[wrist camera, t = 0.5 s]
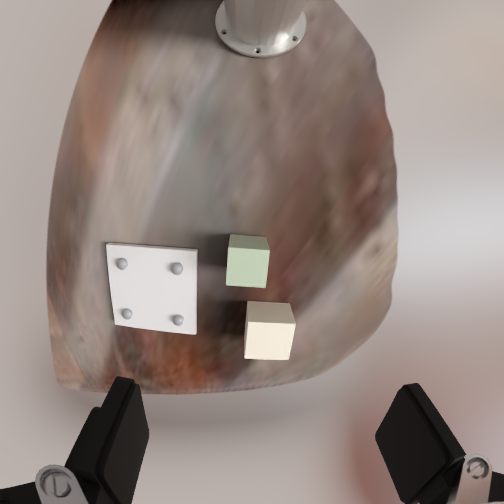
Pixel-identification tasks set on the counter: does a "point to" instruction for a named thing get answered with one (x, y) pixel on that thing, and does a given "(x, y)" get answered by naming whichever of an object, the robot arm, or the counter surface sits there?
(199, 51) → the counter surface
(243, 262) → the sage block
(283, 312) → the cream block
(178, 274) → the plate
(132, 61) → the counter surface
